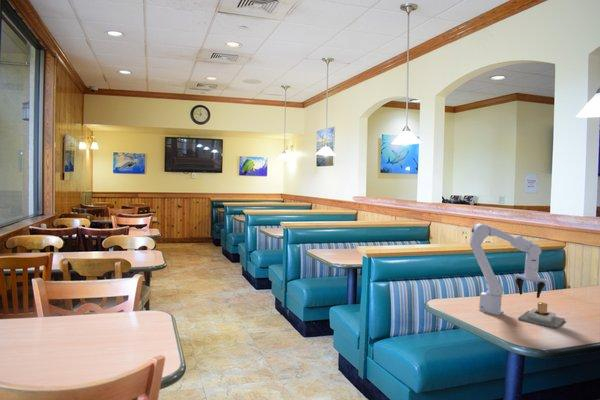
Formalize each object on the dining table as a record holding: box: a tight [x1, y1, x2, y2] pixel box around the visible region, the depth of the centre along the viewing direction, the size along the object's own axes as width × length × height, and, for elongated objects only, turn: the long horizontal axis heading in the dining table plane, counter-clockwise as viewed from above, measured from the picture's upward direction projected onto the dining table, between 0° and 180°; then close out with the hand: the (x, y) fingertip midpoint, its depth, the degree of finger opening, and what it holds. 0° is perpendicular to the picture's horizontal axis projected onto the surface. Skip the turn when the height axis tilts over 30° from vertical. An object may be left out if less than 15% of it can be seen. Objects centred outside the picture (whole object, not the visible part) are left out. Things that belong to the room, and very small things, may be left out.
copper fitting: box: [536, 302, 548, 316], centre depth 213 cm, size 4×4×7 cm
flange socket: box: [517, 308, 566, 330], centre depth 213 cm, size 16×16×4 cm
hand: (529, 295), depth 220 cm, fingers open, 7 cm apart
